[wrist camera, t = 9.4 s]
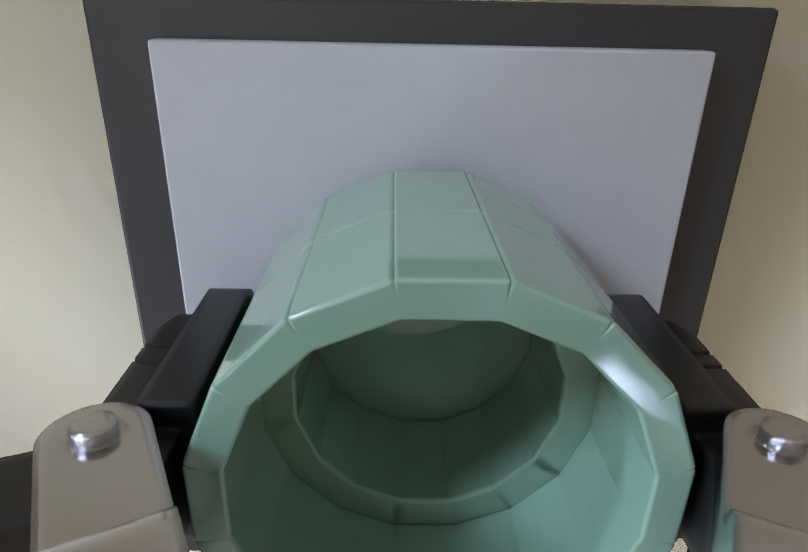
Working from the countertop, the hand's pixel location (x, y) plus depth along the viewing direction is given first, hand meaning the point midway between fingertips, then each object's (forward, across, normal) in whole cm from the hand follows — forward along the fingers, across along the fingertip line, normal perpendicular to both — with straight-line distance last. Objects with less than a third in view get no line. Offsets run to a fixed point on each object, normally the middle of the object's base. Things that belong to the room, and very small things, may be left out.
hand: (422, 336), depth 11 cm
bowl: (+1, 0, 0) cm, 1 cm away
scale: (+4, 0, +1) cm, 4 cm away
